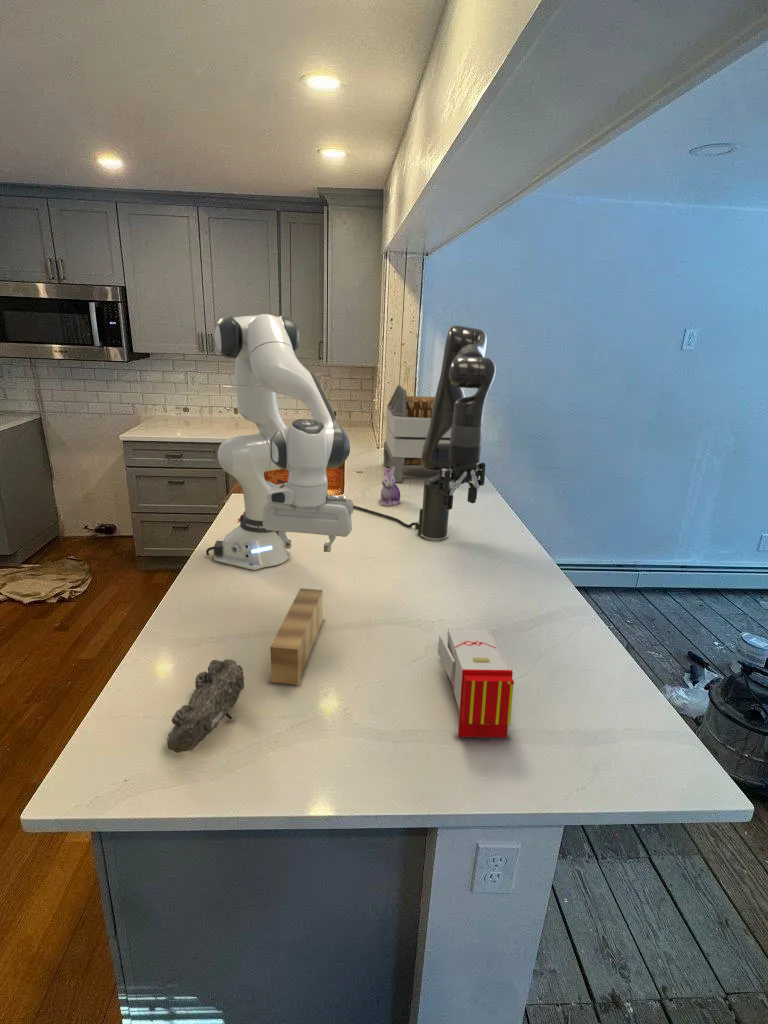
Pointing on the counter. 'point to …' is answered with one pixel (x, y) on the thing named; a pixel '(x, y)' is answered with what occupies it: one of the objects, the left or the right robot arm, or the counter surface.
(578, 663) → the counter surface
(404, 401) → the grey wooden crate
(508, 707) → the toy
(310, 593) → the bar
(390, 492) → the figurine
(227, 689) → the fossil
